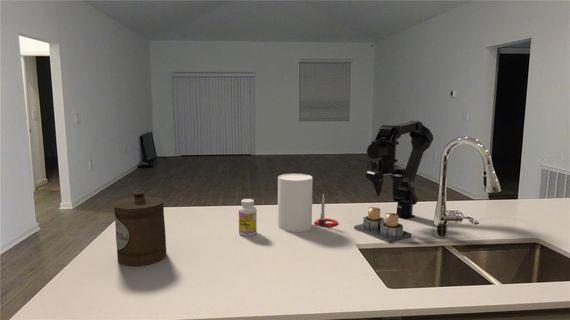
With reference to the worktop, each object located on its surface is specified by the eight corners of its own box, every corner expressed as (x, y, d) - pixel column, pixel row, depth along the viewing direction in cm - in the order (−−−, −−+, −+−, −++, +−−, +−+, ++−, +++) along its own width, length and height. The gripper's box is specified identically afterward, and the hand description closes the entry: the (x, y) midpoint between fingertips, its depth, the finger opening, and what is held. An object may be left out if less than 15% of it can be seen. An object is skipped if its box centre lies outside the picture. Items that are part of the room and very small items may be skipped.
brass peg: (381, 226, 156) (382, 209, 155) (373, 228, 154) (374, 210, 153) (373, 223, 160) (374, 206, 159) (365, 225, 157) (366, 208, 156)
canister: (312, 221, 166) (313, 174, 163) (311, 232, 153) (311, 181, 150) (279, 220, 168) (279, 173, 165) (275, 231, 154) (276, 180, 151)
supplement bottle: (235, 234, 150) (234, 201, 148) (245, 229, 156) (244, 197, 154) (250, 237, 147) (250, 203, 145) (259, 232, 153) (259, 199, 151)
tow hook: (323, 219, 170) (311, 224, 163) (324, 190, 169) (313, 193, 161) (340, 223, 166) (330, 228, 158) (342, 192, 164) (332, 196, 156)
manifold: (354, 228, 157) (354, 208, 156) (376, 223, 164) (377, 204, 163) (388, 242, 142) (389, 220, 141) (411, 236, 149) (412, 215, 148)
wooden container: (118, 251, 133) (114, 186, 130) (164, 246, 138) (161, 183, 135) (116, 269, 120) (112, 197, 116) (168, 262, 125) (165, 193, 121)
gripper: (389, 152, 172) (387, 187, 175) (356, 155, 163) (355, 193, 165) (410, 155, 163) (407, 193, 166) (376, 159, 153) (375, 199, 156)
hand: (386, 194), depth 163 cm, fingers open, 9 cm apart
